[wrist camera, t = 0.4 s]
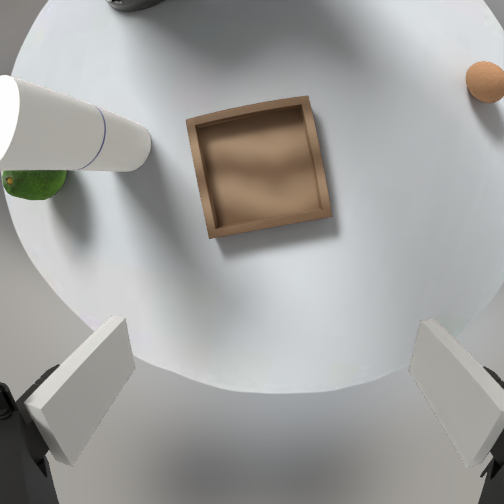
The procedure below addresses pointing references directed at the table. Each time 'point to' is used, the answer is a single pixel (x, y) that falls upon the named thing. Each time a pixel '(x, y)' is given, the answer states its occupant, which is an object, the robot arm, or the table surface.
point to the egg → (485, 81)
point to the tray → (259, 166)
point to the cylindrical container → (64, 132)
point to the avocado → (33, 183)
